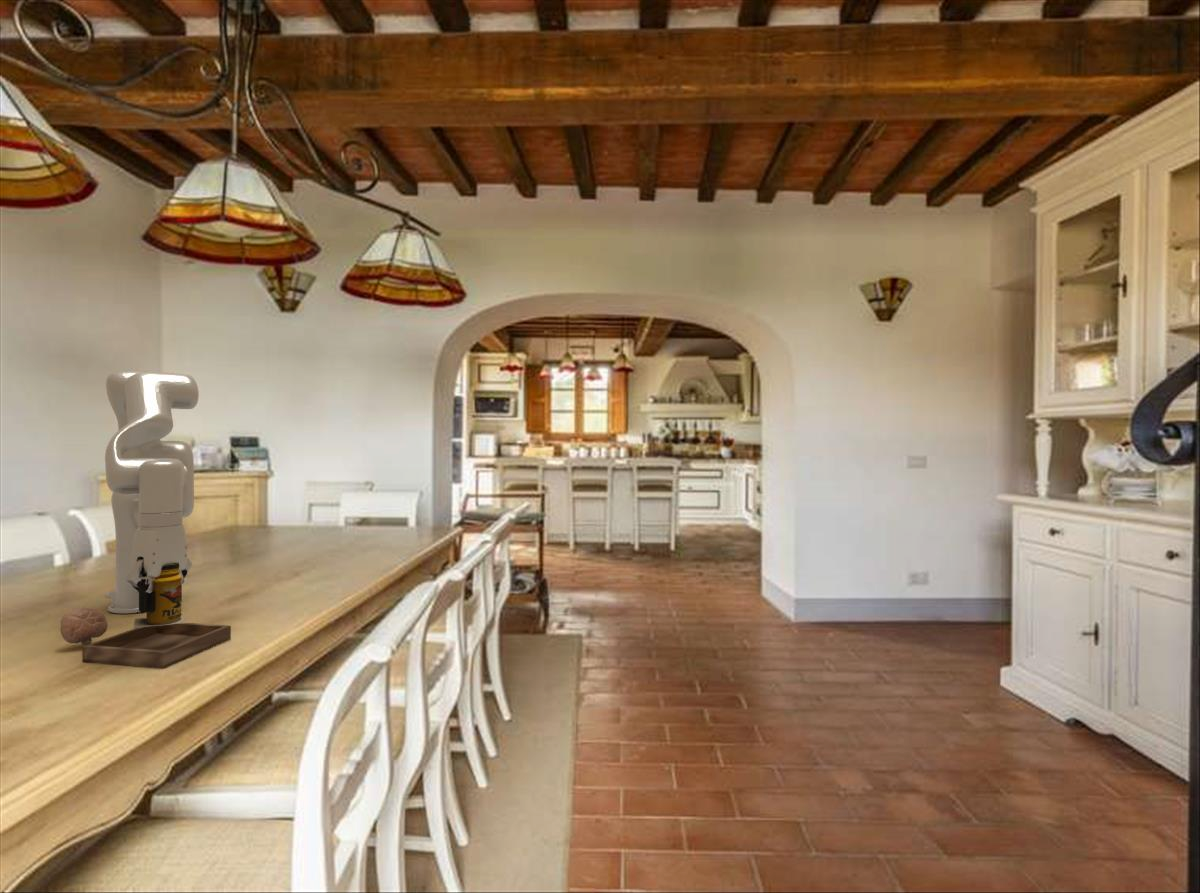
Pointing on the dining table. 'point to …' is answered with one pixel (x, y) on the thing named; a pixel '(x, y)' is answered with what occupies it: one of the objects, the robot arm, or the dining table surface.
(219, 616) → the dining table surface
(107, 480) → the robot arm
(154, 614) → the condiment
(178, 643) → the tray
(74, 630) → the mushroom
